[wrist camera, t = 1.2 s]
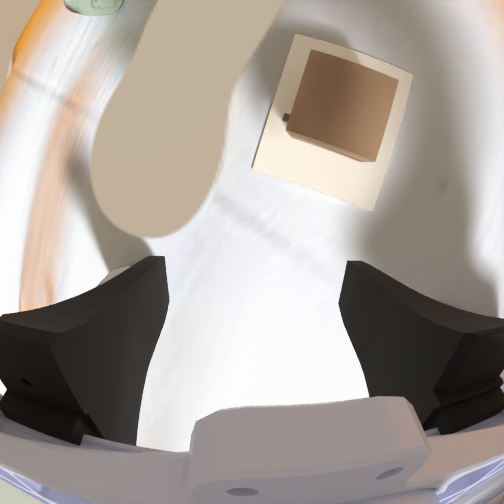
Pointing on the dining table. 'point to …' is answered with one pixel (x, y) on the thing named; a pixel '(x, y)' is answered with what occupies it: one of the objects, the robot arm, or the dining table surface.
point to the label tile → (319, 159)
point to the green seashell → (93, 6)
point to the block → (342, 107)
